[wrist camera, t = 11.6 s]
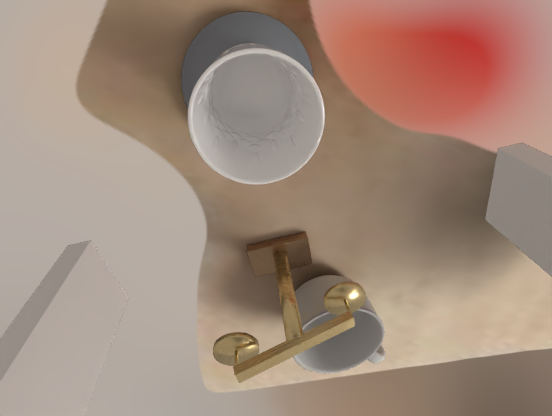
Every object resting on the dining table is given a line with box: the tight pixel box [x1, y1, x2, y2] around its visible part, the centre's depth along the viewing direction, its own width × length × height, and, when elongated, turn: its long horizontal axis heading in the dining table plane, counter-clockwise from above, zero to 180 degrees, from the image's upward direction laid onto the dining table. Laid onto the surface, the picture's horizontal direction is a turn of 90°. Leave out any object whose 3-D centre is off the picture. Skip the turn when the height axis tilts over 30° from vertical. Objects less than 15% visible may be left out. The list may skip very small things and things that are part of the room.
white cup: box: [188, 43, 325, 185], centre depth 23 cm, size 8×8×10 cm
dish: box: [181, 12, 313, 109], centre depth 28 cm, size 11×11×1 cm
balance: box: [213, 232, 366, 383], centre depth 32 cm, size 15×4×14 cm, turn 101°
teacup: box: [293, 275, 385, 374], centre depth 40 cm, size 14×11×8 cm
